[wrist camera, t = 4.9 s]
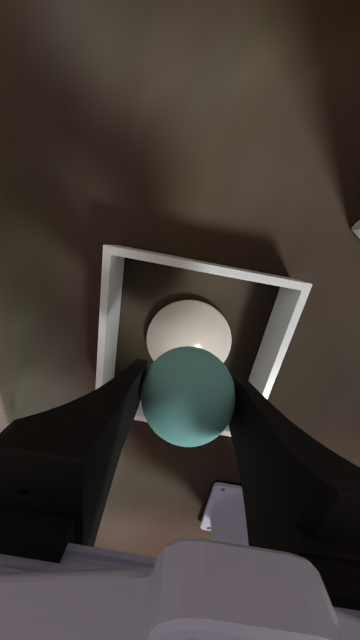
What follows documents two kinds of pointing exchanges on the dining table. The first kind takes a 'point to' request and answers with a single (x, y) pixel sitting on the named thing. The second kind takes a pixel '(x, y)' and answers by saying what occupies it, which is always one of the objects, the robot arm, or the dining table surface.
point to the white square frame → (287, 299)
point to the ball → (188, 396)
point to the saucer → (189, 329)
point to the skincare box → (356, 229)
